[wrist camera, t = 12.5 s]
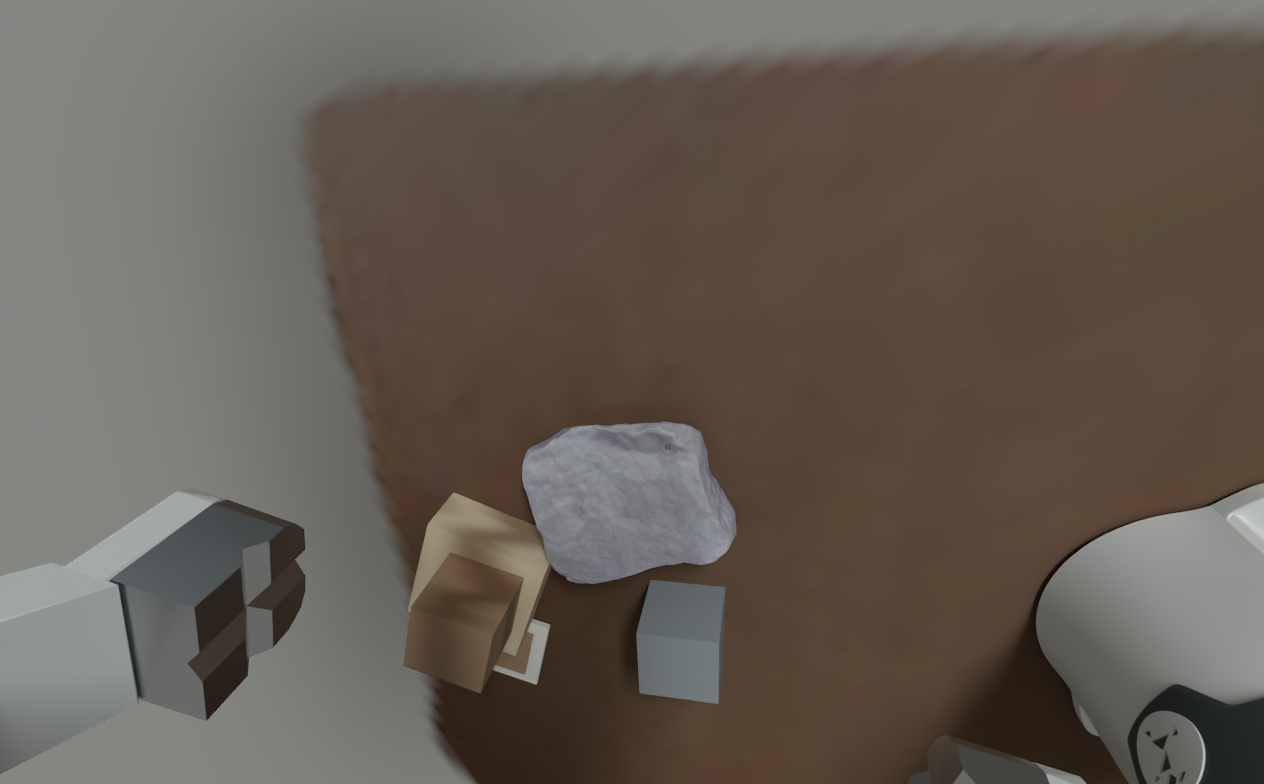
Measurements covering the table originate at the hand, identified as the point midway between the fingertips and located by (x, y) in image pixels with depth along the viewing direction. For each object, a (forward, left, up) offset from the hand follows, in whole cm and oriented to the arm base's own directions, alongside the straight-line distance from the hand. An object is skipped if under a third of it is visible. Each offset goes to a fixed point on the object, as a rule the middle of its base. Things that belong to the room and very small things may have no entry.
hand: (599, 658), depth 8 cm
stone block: (+2, +17, -30) cm, 34 cm away
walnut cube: (+9, +26, -26) cm, 38 cm away
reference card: (+8, +34, -29) cm, 45 cm away
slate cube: (-4, +26, -29) cm, 39 cm away
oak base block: (+10, +26, -30) cm, 41 cm away
